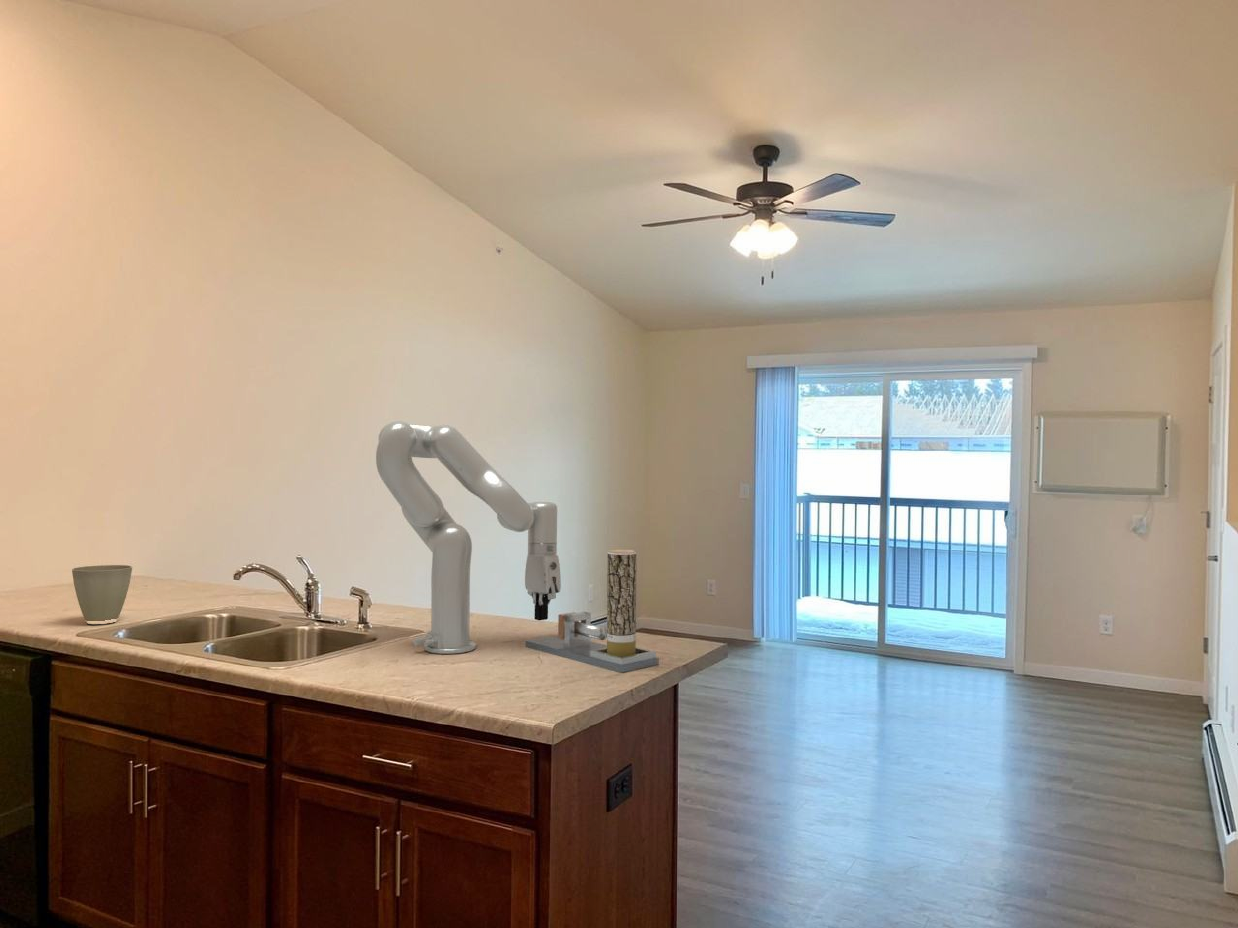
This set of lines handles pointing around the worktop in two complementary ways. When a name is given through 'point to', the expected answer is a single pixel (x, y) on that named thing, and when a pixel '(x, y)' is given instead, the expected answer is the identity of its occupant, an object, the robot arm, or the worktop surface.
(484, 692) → the worktop surface
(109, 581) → the plant pot
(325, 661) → the worktop surface
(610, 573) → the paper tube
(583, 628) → the shaft
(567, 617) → the shaft frame
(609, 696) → the worktop surface
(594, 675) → the worktop surface
